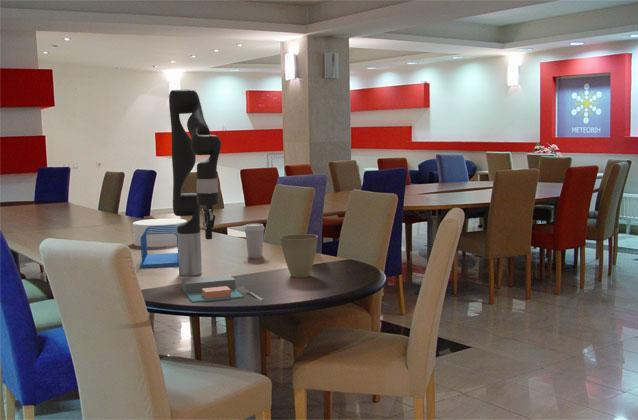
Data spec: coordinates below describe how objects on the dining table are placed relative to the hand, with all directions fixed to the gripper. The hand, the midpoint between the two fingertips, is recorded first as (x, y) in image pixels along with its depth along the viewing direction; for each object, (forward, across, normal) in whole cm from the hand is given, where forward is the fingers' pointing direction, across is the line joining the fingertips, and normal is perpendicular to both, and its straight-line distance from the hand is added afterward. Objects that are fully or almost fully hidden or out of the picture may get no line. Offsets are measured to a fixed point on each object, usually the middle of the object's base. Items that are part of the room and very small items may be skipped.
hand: (208, 239), depth 250 cm
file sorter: (+21, -68, -8) cm, 72 cm away
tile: (+18, +9, 0) cm, 20 cm away
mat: (+19, +8, 0) cm, 21 cm away
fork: (+20, +12, +13) cm, 27 cm away
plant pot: (+20, -14, +39) cm, 46 cm away
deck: (+19, -4, 0) cm, 20 cm away
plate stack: (+21, -127, 0) cm, 128 cm away
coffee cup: (+20, -64, +34) cm, 75 cm away
